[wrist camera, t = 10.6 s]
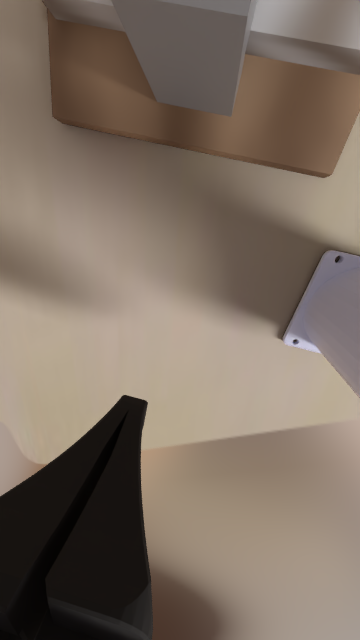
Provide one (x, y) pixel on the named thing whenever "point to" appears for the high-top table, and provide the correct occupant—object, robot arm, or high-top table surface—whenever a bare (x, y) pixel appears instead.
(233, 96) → the block
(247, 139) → the rail board
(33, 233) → the high-top table surface
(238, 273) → the high-top table surface
